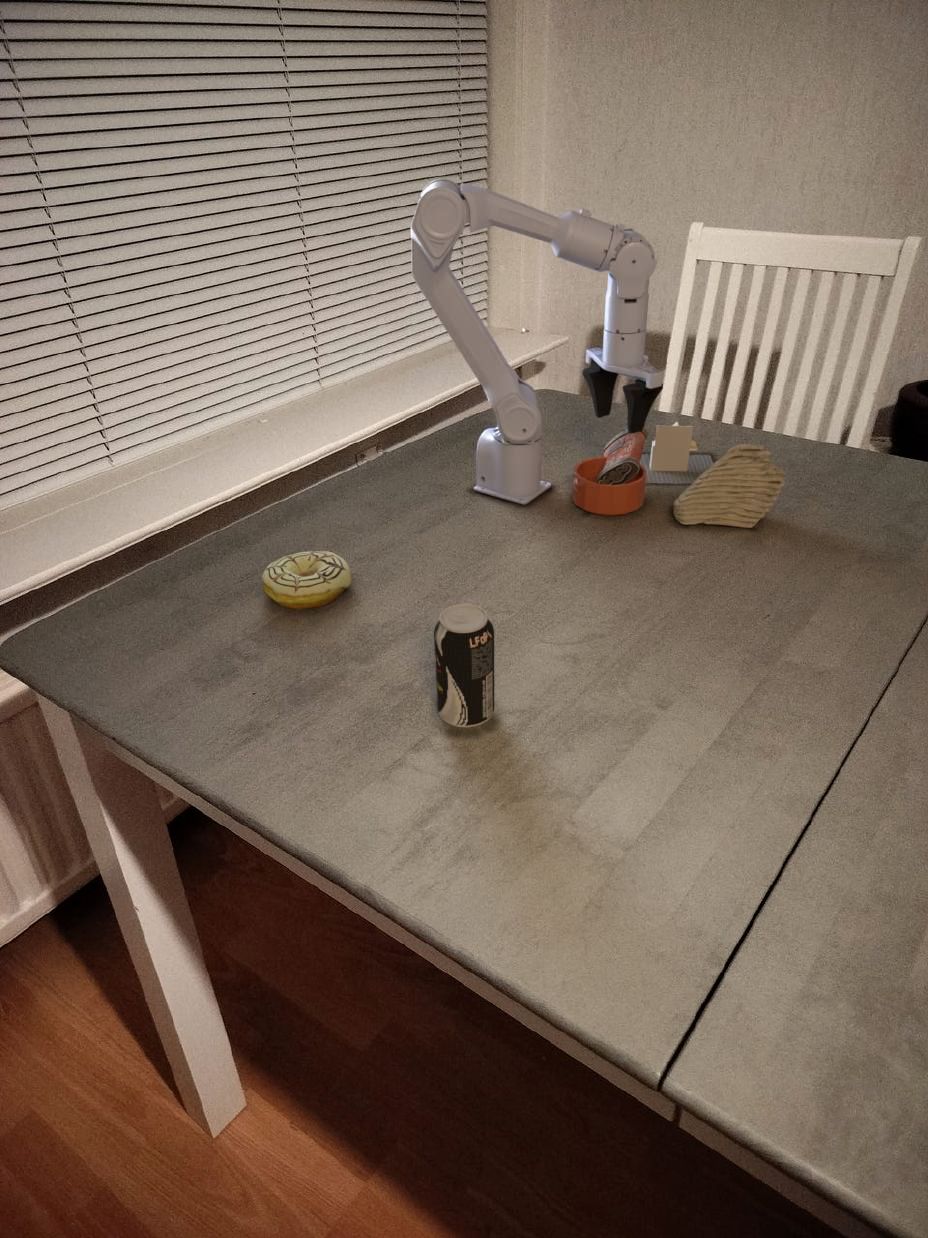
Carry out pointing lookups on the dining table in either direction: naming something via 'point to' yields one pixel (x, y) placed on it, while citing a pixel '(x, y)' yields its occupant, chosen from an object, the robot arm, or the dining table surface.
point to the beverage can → (464, 665)
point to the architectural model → (674, 457)
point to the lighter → (622, 457)
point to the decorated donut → (306, 579)
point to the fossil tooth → (732, 489)
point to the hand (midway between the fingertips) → (618, 423)
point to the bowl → (606, 490)
